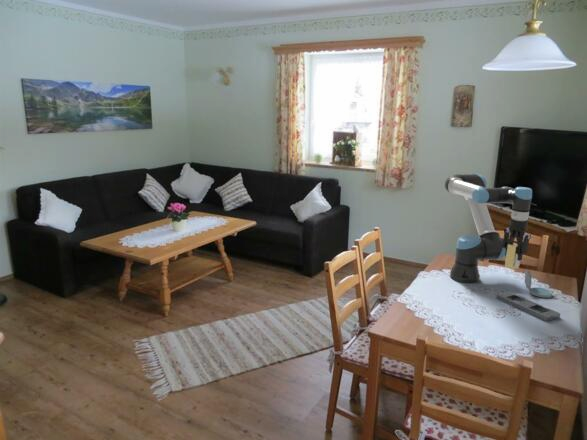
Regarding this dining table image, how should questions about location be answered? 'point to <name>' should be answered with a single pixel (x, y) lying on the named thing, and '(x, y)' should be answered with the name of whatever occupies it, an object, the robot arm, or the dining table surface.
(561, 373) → the dining table surface
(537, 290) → the pocket watch
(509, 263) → the brass block
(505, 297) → the panel
